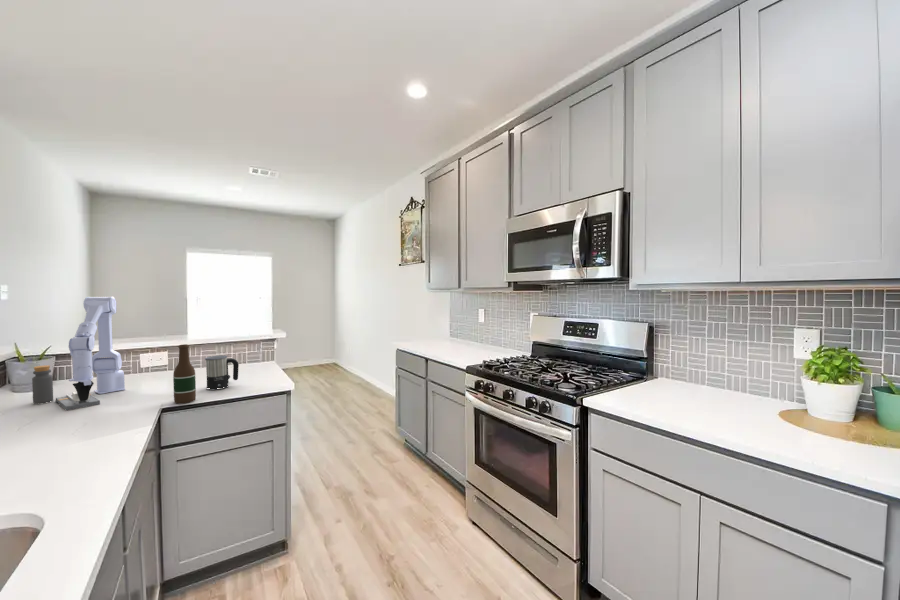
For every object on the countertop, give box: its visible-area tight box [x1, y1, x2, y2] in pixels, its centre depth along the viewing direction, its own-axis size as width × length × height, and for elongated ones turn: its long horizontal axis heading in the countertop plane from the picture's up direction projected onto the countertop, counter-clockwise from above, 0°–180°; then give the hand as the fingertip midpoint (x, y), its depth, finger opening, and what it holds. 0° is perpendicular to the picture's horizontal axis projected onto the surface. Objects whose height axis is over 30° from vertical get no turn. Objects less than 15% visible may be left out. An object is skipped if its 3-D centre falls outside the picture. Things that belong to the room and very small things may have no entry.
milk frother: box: [204, 355, 240, 389], centre depth 191 cm, size 14×16×15 cm
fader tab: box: [71, 391, 91, 402], centre depth 159 cm, size 4×4×4 cm
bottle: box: [31, 364, 54, 405], centre depth 163 cm, size 6×6×15 cm
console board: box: [55, 393, 101, 411], centre depth 163 cm, size 10×19×2 cm, turn 54°
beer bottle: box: [172, 344, 197, 405], centre depth 165 cm, size 8×8×24 cm
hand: (83, 400), depth 157 cm, fingers closed
